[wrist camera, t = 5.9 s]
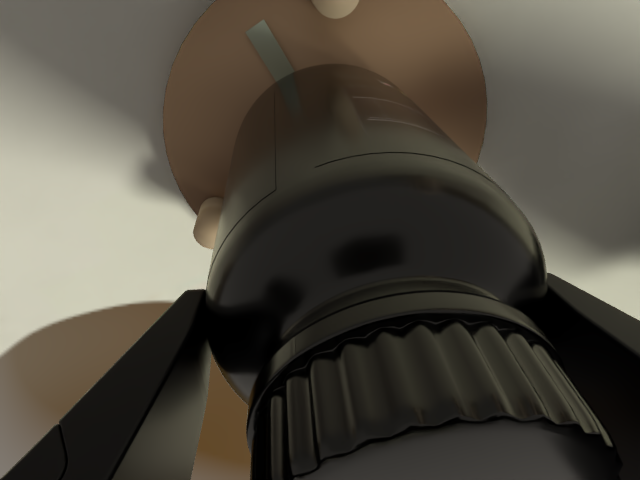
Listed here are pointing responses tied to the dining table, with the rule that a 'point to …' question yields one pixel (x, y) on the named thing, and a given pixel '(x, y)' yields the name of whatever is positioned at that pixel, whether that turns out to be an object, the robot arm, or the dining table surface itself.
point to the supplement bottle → (385, 300)
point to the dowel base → (301, 52)
